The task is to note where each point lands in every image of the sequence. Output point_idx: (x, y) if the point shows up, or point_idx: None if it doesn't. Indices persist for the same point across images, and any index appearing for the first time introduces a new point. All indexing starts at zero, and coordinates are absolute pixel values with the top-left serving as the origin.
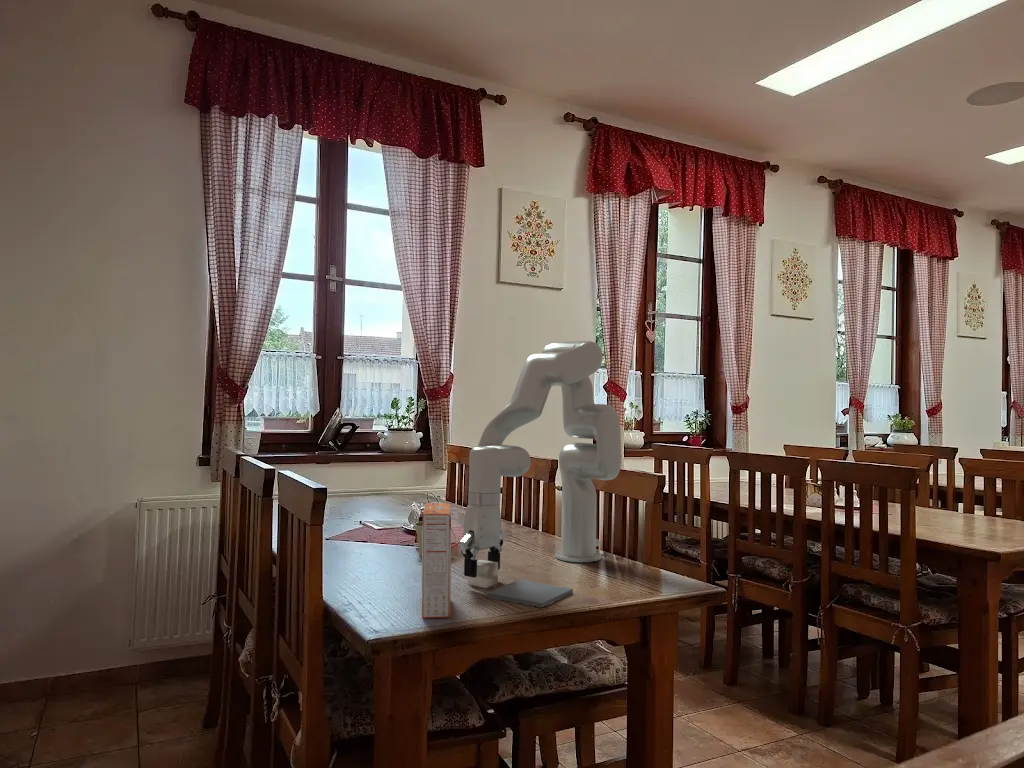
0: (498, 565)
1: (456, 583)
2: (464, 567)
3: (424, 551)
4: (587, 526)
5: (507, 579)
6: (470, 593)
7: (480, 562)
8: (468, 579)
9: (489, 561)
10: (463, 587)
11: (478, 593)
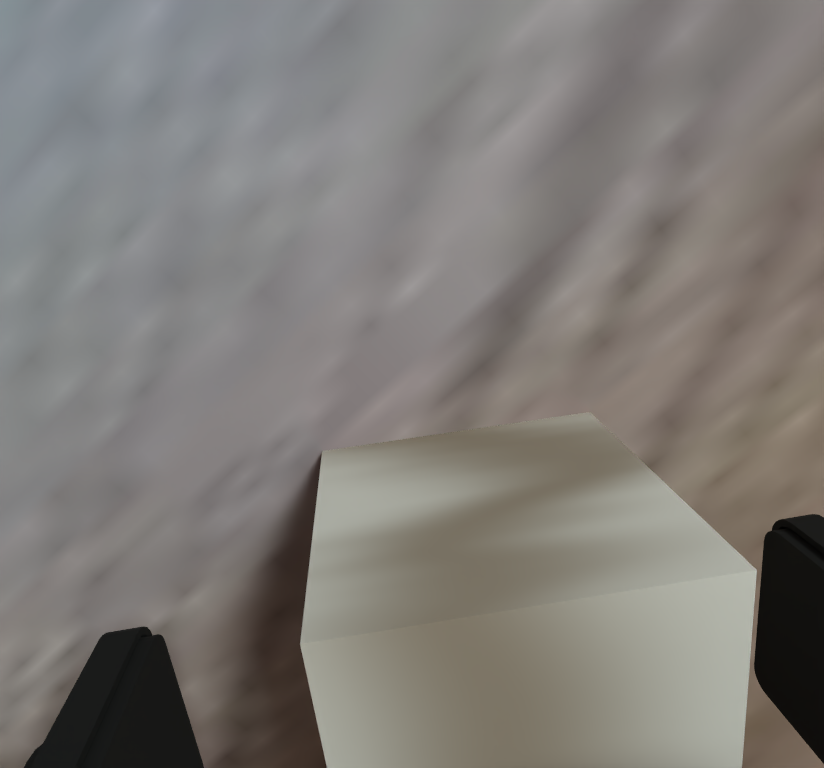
0: (803, 729)
1: (251, 300)
2: (46, 745)
3: None
4: None
5: None
6: None
7: (546, 720)
8: (320, 483)
9: (718, 762)
10: (182, 498)
11: None
